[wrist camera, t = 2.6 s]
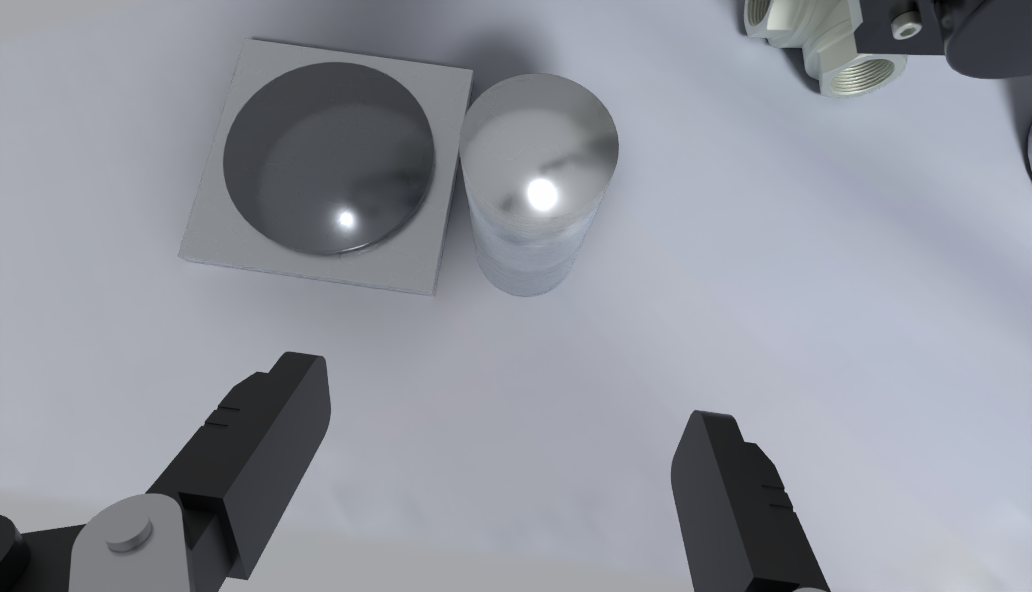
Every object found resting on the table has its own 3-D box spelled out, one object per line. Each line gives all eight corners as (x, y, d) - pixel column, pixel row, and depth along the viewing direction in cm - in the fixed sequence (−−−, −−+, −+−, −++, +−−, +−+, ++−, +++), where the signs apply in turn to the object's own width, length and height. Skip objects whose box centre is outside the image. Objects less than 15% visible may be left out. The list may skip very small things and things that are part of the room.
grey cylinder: (578, 211, 25) (625, 84, 16) (567, 303, 24) (610, 228, 15) (484, 197, 25) (472, 63, 16) (469, 289, 24) (446, 205, 15)
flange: (473, 80, 27) (472, 62, 26) (434, 296, 24) (430, 289, 23) (252, 49, 27) (239, 30, 26) (187, 261, 24) (169, 252, 23)
